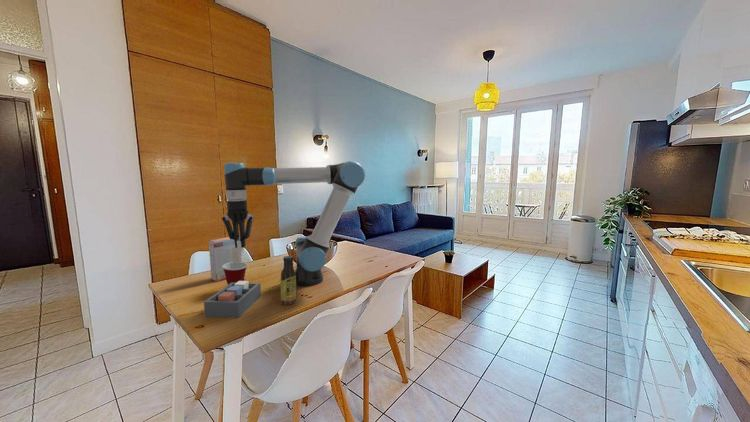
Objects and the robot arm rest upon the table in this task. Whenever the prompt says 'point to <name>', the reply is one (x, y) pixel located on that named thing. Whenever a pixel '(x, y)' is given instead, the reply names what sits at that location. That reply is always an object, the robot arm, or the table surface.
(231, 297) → the salmon red block
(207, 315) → the grey compartment tray
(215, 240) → the cracker box
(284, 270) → the sauce bottle
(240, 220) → the robot arm
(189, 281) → the table surface
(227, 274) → the plastic cup
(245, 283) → the white block
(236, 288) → the light blue block
